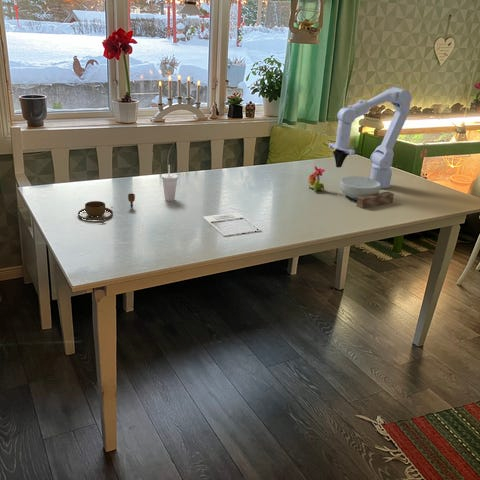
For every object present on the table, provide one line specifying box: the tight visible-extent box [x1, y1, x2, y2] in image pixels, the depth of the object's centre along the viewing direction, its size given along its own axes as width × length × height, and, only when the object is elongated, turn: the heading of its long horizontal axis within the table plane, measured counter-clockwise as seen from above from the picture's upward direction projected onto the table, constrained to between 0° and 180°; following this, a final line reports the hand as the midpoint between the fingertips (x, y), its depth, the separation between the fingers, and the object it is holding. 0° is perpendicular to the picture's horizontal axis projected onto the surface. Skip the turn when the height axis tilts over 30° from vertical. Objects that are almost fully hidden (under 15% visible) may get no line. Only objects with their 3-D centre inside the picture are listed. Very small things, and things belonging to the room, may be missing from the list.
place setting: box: [77, 193, 136, 221], centre depth 180 cm, size 18×20×6 cm
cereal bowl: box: [339, 175, 380, 201], centre depth 216 cm, size 17×17×7 cm
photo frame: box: [202, 211, 263, 237], centre depth 180 cm, size 15×1×18 cm
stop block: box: [356, 191, 395, 209], centre depth 210 cm, size 18×3×4 cm, turn 122°
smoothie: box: [161, 164, 179, 202], centre depth 197 cm, size 6×6×14 cm
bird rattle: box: [307, 166, 326, 193], centre depth 222 cm, size 6×11×9 cm
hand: (338, 167), depth 225 cm, fingers closed
